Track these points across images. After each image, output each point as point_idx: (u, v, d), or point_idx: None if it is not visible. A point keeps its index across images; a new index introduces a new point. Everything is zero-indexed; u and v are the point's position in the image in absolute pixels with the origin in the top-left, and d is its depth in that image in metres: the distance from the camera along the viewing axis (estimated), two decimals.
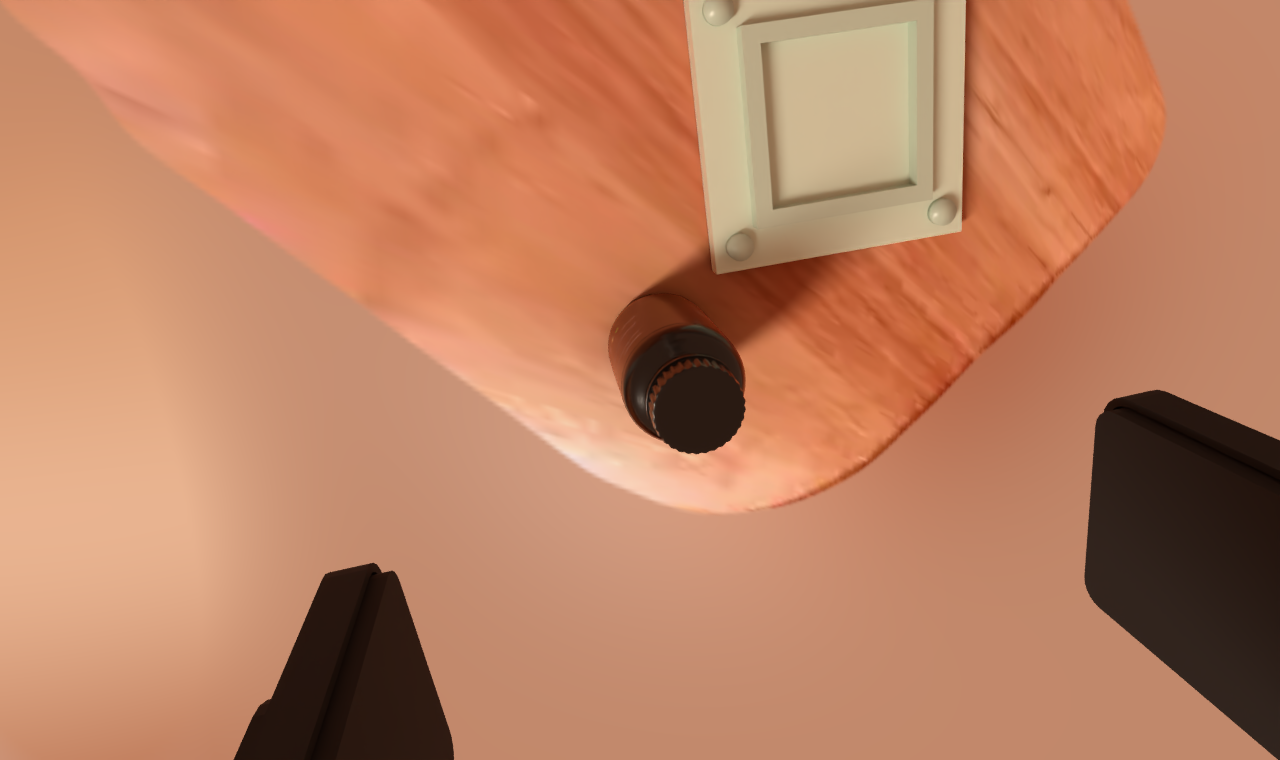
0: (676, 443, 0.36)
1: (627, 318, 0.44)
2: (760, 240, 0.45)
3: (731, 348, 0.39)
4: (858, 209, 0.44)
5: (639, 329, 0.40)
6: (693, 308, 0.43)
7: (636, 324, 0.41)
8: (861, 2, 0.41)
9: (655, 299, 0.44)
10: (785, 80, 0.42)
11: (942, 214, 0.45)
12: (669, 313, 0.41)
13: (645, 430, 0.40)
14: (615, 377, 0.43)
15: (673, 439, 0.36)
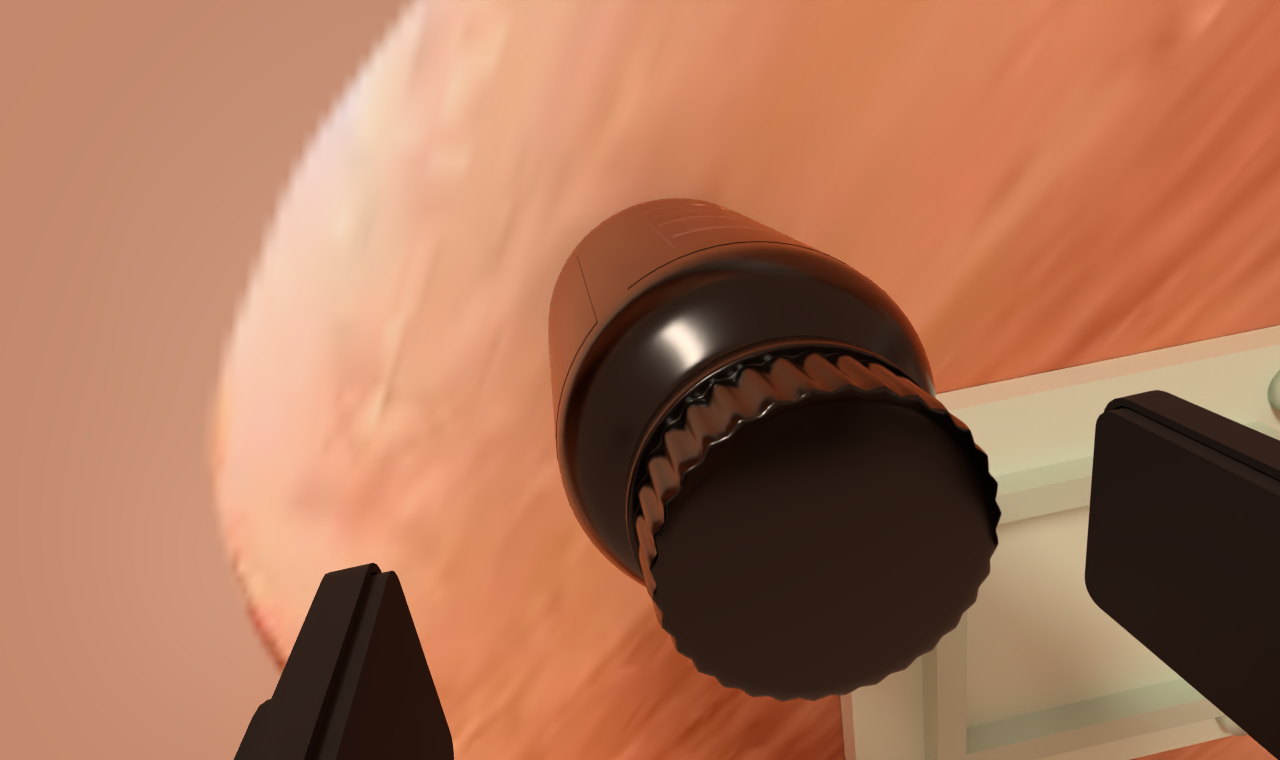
0: (705, 490, 0.09)
1: None
2: None
3: None
4: (941, 674, 0.23)
5: None
6: None
7: None
8: None
9: None
10: None
11: None
12: None
13: (621, 333, 0.11)
14: (664, 219, 0.16)
15: (724, 477, 0.09)
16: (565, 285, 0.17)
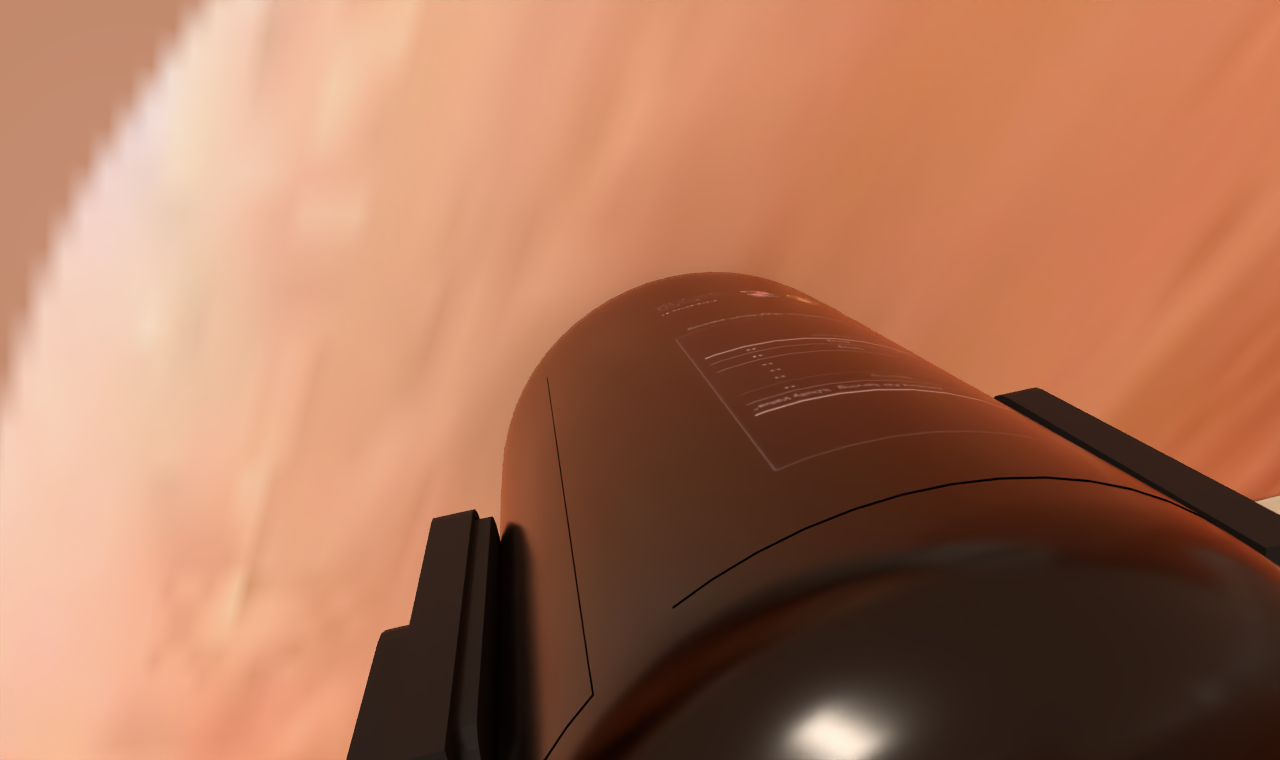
0: None
1: None
2: None
3: None
4: None
5: None
6: None
7: None
8: None
9: None
10: None
11: None
12: None
13: None
14: (712, 341, 0.08)
15: None
16: (526, 442, 0.09)
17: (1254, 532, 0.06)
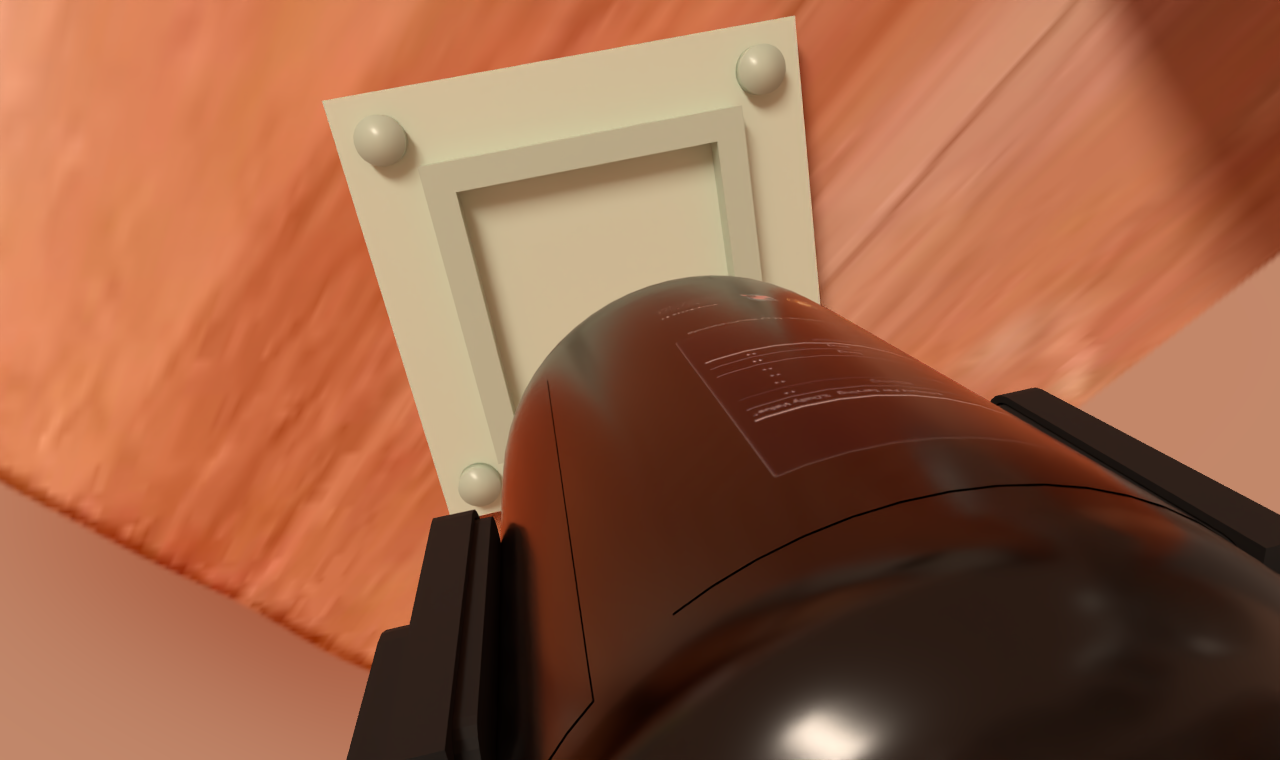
0: None
1: None
2: (398, 183, 0.25)
3: None
4: (471, 346, 0.26)
5: None
6: None
7: None
8: None
9: None
10: (660, 197, 0.26)
11: (476, 485, 0.28)
12: None
13: None
14: (712, 346, 0.08)
15: None
16: (526, 446, 0.10)
17: (1253, 532, 0.06)
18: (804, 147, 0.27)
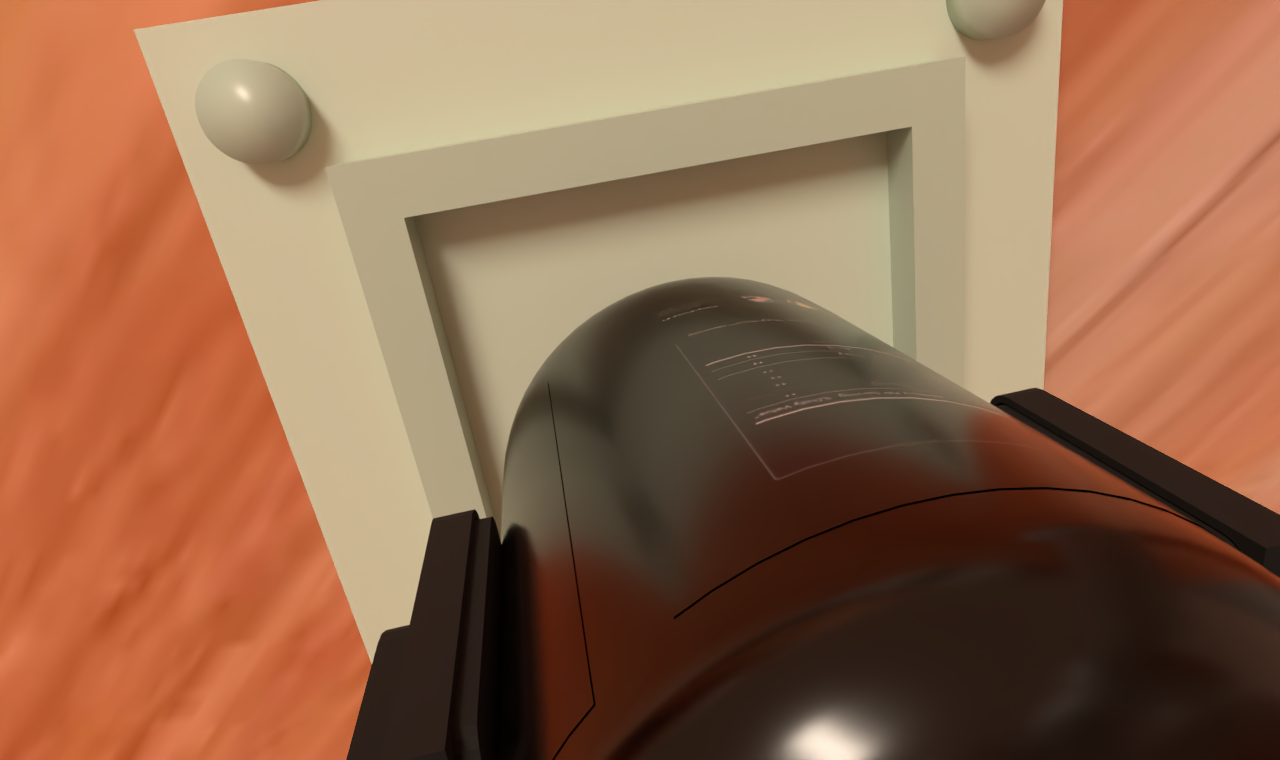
0: None
1: None
2: (295, 196, 0.13)
3: None
4: (435, 497, 0.14)
5: None
6: None
7: None
8: None
9: None
10: (788, 229, 0.14)
11: None
12: None
13: None
14: (713, 348, 0.08)
15: None
16: (527, 448, 0.10)
17: (1253, 532, 0.06)
18: (1052, 140, 0.14)
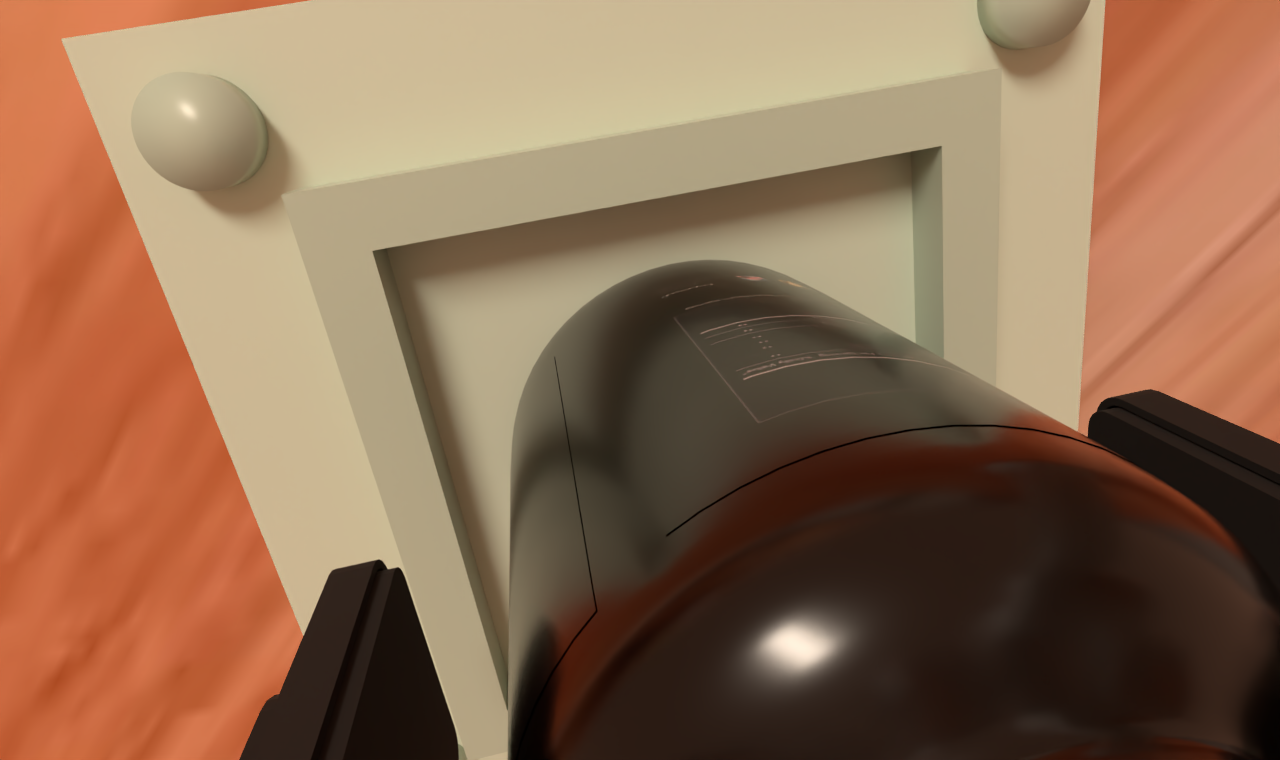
0: None
1: None
2: (251, 225, 0.11)
3: None
4: (411, 558, 0.13)
5: None
6: None
7: None
8: None
9: None
10: (802, 258, 0.13)
11: None
12: None
13: (658, 683, 0.05)
14: (707, 318, 0.09)
15: None
16: (535, 415, 0.10)
17: None
18: (1091, 160, 0.13)
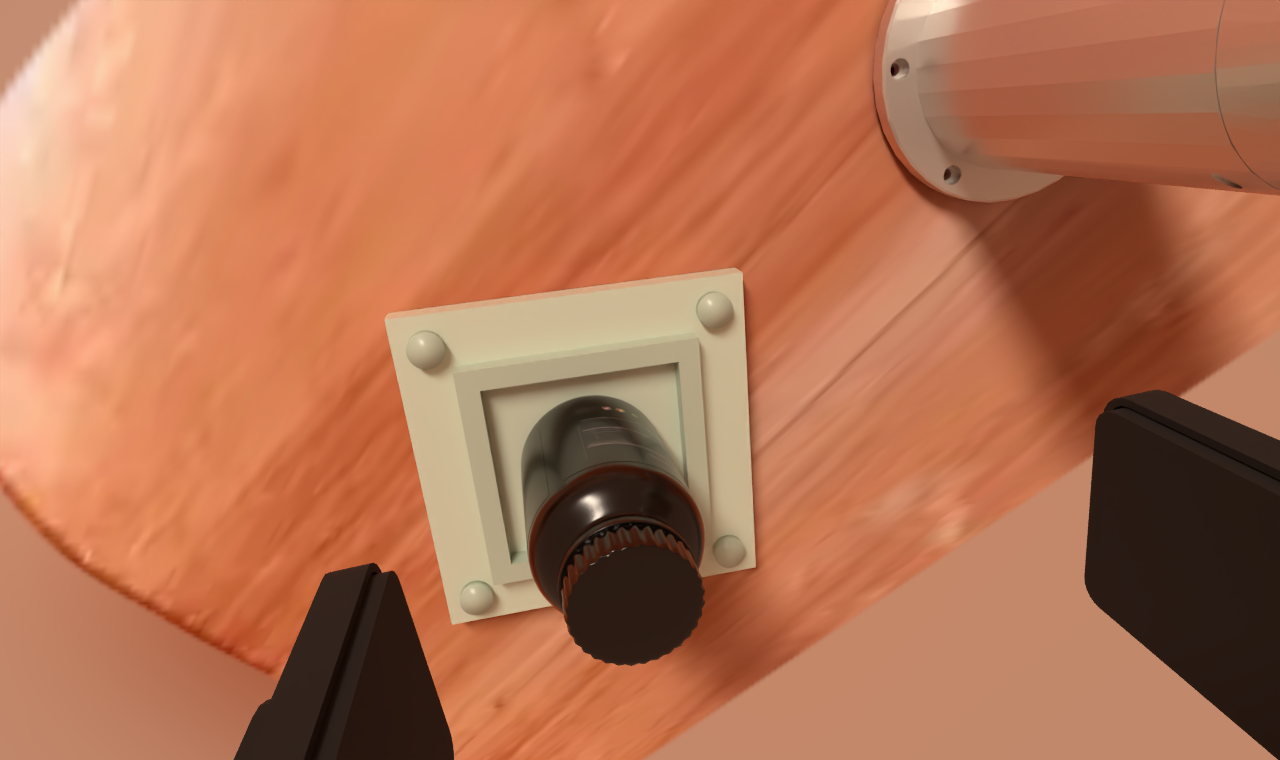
0: (587, 581, 0.24)
1: (653, 430, 0.33)
2: (435, 377, 0.33)
3: None
4: (480, 499, 0.34)
5: (676, 469, 0.29)
6: None
7: (670, 458, 0.30)
8: (709, 469, 0.37)
9: None
10: (633, 393, 0.35)
11: (474, 599, 0.36)
12: None
13: (559, 504, 0.26)
14: (586, 426, 0.30)
15: (594, 577, 0.23)
16: (532, 450, 0.32)
17: None
18: (745, 362, 0.35)
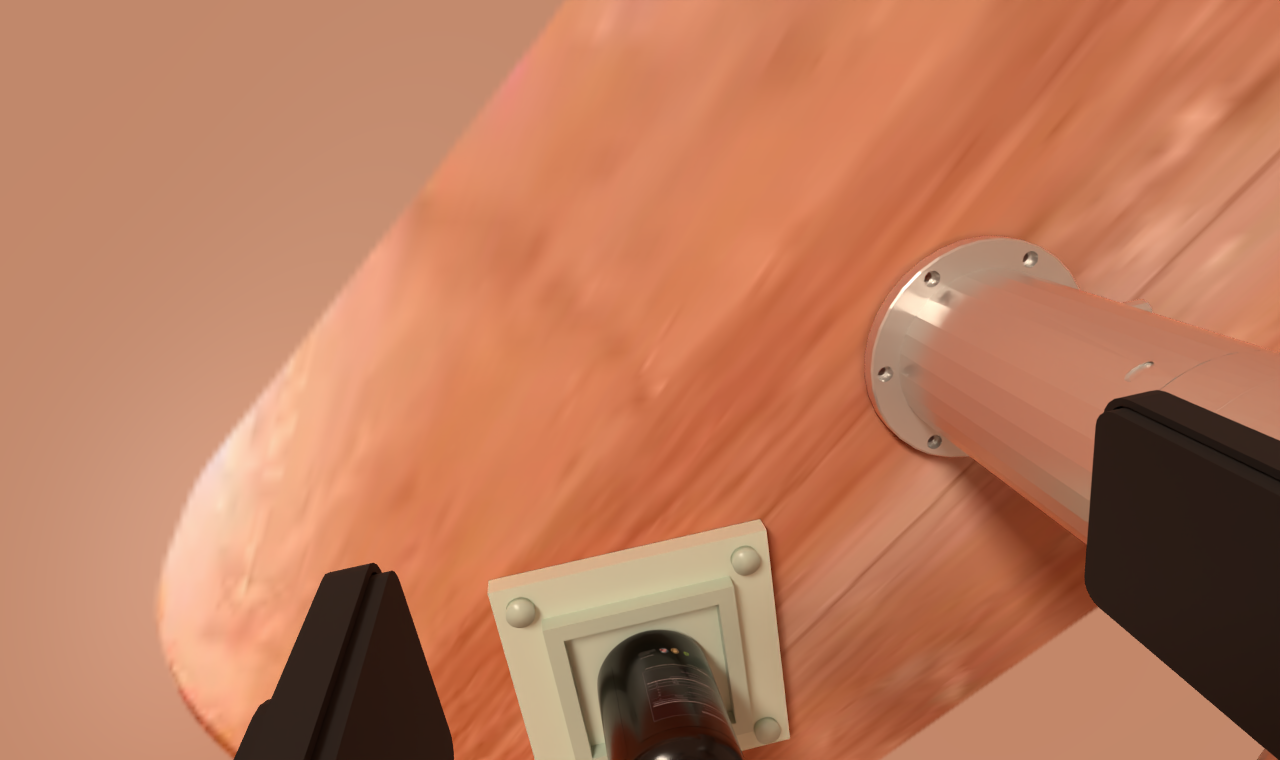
0: None
1: (701, 664, 0.41)
2: (527, 629, 0.42)
3: None
4: (567, 715, 0.43)
5: (722, 714, 0.38)
6: None
7: (716, 698, 0.39)
8: (747, 671, 0.45)
9: None
10: (683, 624, 0.43)
11: None
12: None
13: None
14: (649, 677, 0.39)
15: None
16: (608, 689, 0.40)
17: None
18: (772, 592, 0.43)
